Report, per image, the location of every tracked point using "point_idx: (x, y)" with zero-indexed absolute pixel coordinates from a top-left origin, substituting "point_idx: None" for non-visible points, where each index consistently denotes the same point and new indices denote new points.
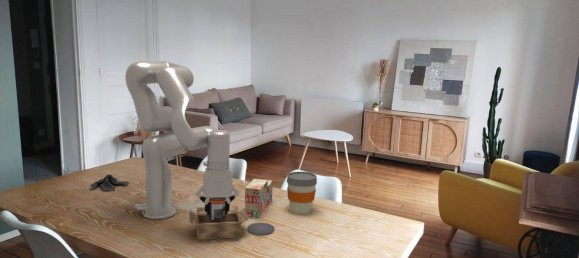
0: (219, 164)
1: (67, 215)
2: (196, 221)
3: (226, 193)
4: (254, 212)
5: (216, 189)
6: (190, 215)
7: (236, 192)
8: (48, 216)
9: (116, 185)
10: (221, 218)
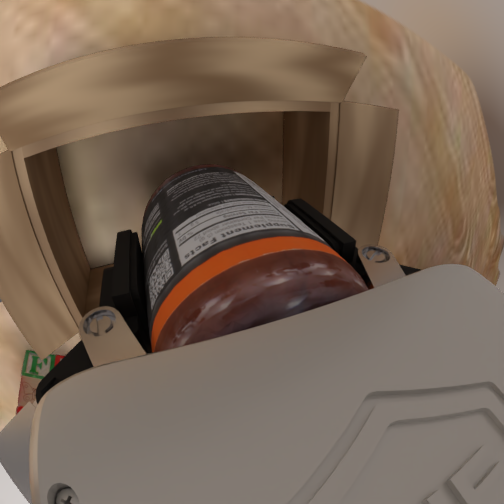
0: None
1: (480, 269)
2: (340, 166)
3: (134, 440)
4: (44, 372)
5: (444, 435)
6: (380, 210)
7: (22, 462)
8: (491, 261)
9: None
10: (169, 185)
